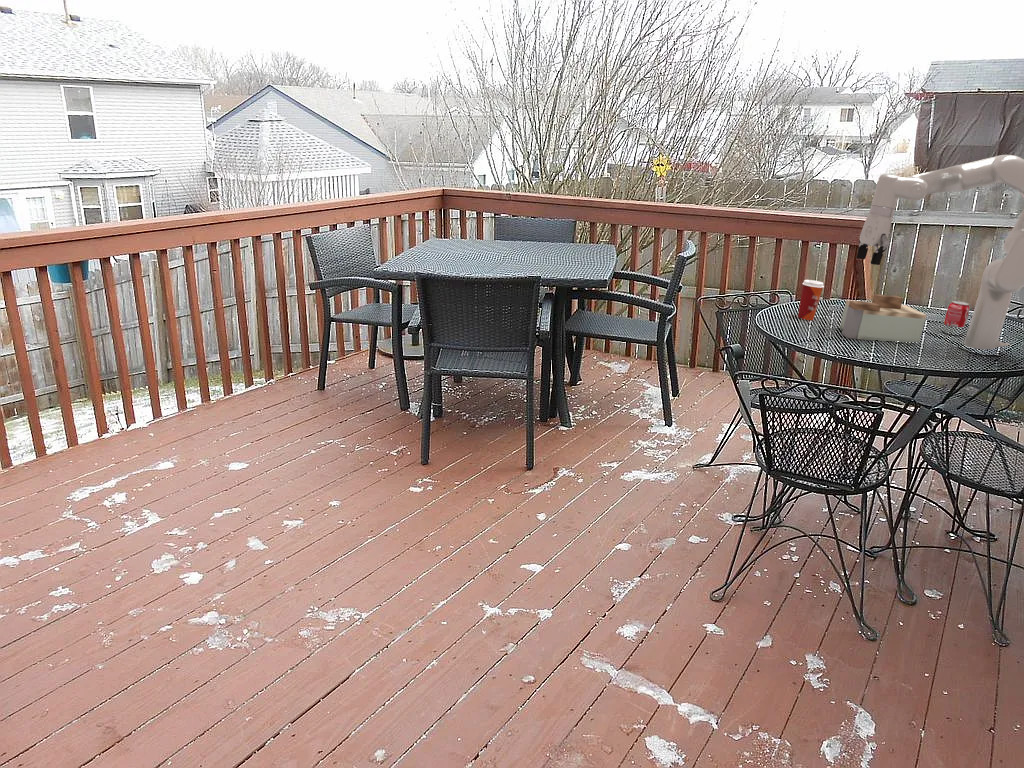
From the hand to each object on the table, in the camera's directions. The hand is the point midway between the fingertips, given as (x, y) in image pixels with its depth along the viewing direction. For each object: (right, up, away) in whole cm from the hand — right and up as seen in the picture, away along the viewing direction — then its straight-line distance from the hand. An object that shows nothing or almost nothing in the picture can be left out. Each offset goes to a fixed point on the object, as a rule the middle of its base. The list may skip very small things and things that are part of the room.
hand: (867, 261), depth 268 cm
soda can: (+40, -24, +20) cm, 51 cm away
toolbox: (+5, -25, +5) cm, 26 cm away
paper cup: (-13, -18, +22) cm, 31 cm away
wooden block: (-4, -17, -5) cm, 18 cm away
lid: (+7, -17, +2) cm, 19 cm away
